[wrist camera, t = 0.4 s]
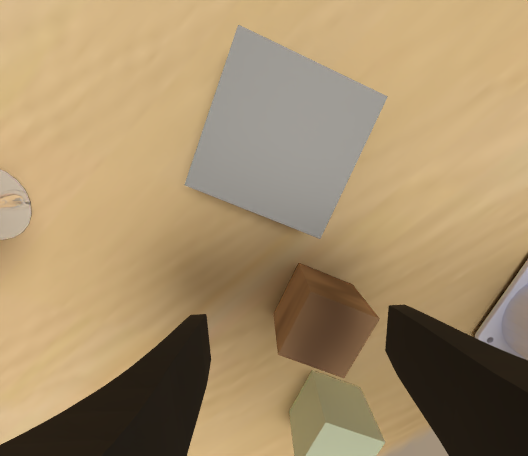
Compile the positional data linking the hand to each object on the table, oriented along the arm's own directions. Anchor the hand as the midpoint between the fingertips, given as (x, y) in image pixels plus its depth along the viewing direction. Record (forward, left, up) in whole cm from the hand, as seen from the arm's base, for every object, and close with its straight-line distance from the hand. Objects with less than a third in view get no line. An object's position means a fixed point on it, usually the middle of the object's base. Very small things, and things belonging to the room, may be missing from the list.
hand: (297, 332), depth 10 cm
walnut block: (-4, +2, -9) cm, 10 cm away
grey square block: (+3, -7, -9) cm, 12 cm away
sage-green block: (-9, +10, -9) cm, 16 cm away
